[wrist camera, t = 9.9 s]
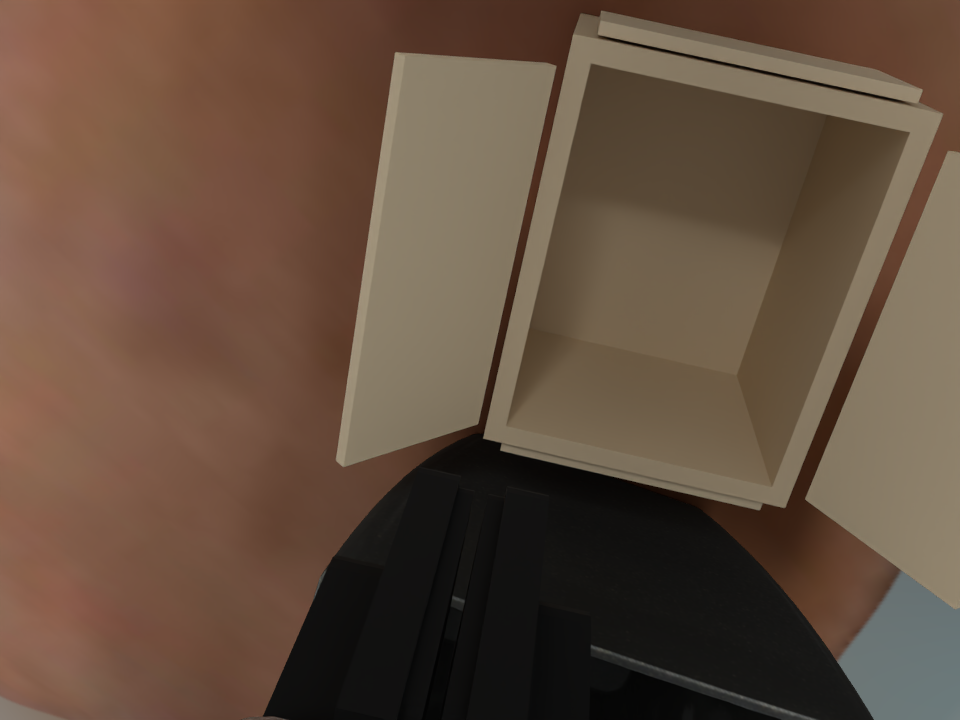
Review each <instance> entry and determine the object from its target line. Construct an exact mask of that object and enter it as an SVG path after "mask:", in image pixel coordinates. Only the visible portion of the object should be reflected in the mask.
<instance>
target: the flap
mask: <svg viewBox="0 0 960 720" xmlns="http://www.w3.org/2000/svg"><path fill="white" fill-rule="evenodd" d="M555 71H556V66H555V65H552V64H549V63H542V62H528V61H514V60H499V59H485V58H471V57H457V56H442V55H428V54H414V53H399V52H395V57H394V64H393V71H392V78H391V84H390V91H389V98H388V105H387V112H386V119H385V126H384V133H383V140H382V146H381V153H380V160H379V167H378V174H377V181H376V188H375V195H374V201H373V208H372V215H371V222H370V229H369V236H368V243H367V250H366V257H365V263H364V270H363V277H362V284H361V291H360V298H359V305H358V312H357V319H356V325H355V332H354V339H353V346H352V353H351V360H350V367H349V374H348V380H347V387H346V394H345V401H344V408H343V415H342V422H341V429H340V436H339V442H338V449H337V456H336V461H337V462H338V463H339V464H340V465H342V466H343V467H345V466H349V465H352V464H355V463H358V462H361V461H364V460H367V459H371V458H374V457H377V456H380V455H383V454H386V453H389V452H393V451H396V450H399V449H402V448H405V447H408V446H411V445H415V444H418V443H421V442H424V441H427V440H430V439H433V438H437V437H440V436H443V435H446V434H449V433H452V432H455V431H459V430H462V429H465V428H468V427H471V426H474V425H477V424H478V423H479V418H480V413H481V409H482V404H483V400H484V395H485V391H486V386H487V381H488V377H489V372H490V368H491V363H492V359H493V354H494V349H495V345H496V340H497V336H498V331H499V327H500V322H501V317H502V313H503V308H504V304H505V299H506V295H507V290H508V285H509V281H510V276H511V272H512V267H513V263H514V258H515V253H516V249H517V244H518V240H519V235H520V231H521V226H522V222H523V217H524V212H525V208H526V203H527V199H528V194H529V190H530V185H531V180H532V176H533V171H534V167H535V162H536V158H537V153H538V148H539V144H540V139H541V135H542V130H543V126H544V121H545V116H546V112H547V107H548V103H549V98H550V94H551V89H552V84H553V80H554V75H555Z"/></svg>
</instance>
